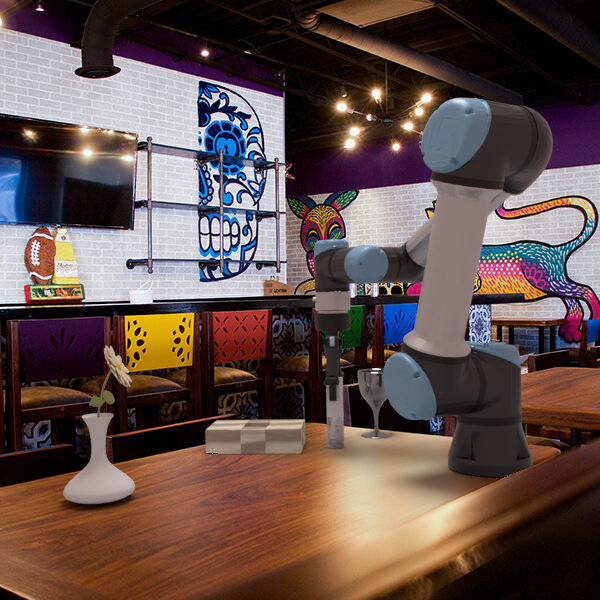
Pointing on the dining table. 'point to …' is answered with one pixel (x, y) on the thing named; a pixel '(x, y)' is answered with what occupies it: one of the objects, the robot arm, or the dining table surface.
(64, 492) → the flower in vase
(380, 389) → the wine glass
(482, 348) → the robot arm
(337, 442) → the peg
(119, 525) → the dining table surface
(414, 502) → the dining table surface
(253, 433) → the hole block
